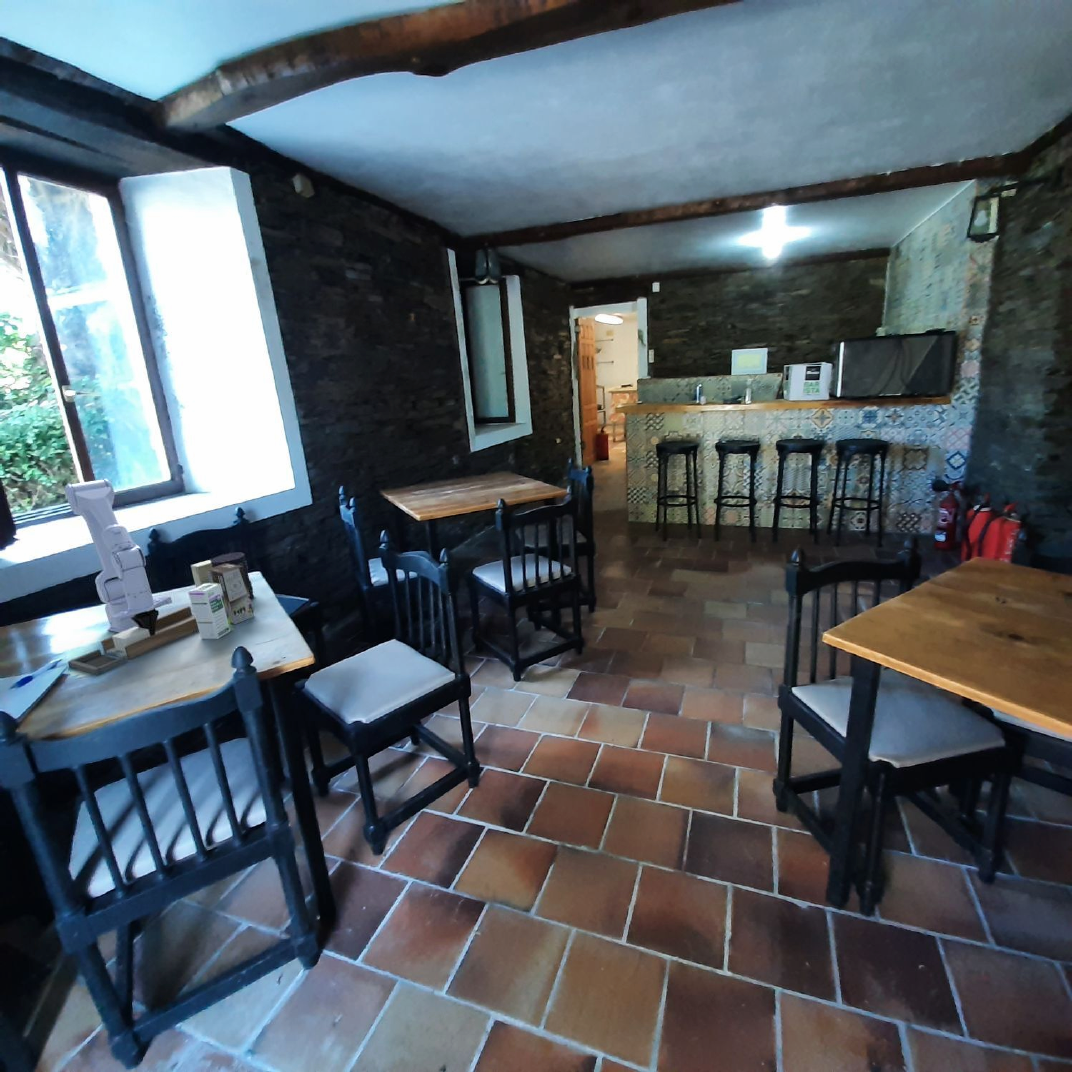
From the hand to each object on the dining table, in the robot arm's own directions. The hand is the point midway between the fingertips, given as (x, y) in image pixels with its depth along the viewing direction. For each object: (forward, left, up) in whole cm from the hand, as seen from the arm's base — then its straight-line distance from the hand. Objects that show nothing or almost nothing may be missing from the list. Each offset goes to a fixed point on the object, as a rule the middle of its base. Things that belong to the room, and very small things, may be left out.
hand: (150, 636), depth 153 cm
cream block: (0, -5, -1) cm, 5 cm away
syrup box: (+15, +9, -2) cm, 18 cm away
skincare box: (-15, +28, -2) cm, 32 cm away
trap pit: (0, -14, -1) cm, 14 cm away
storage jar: (-3, +29, -2) cm, 29 cm away
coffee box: (+10, +19, -2) cm, 22 cm away
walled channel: (0, +3, -1) cm, 3 cm away
